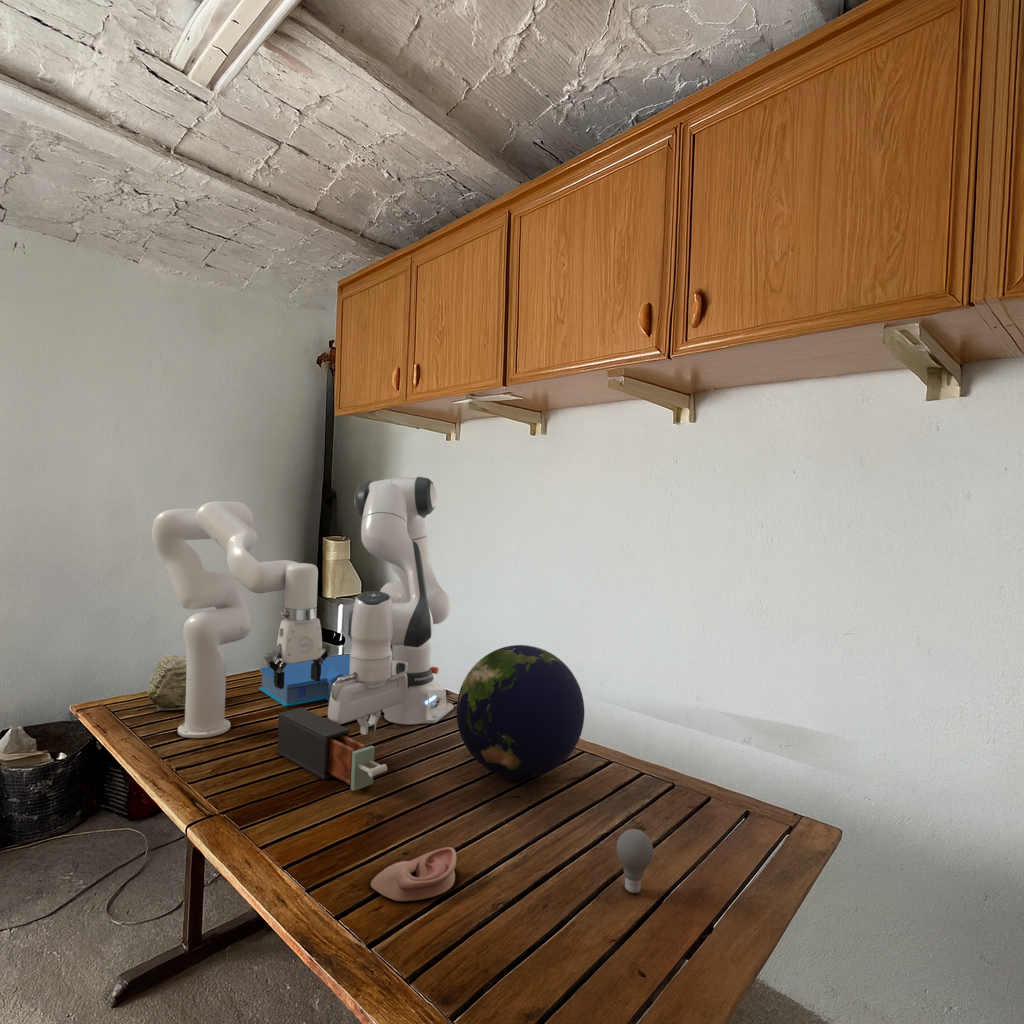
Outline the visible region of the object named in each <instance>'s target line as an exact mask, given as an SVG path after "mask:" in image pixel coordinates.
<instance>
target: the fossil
mask: <svg viewBox="0 0 1024 1024" xmlns="http://www.w3.org/2000/svg"><path fill="white" fill-rule="evenodd" d="M186 666H187V657H186V656H183V657H182V656H178V655H175V654H174V655H173V654H165V655H164V656H163V657H162V658H161V659H160V660H159V662H158V663H157V666H156V667H155V669H154V670H153V672H152V675H151V677H150V680H149V684H148V688H147V697H148V699H149V700H150V701H152V703H153V704H154V706H155V711H158V712H159V711H162V712H163V711H177V710H185V701H186Z"/></svg>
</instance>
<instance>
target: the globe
mask: <svg viewBox="0 0 1024 1024" xmlns="http://www.w3.org/2000/svg"><path fill="white" fill-rule="evenodd" d="M456 721H457V722H456V723H457V727H458V731H459V734H460V737H461V740H462V742H463V744H464V747H465V748H466V749H467V751H468V752H469V754H470V755H471V756H472V757H473V759H474V760H475V761H476V762H477V763H478V764H479V765H481V766H482V767H483V768H485V769H486V770H488V771H489V772H491V773H493V774H495V775H497V776H500V777H502V778H507V779H511V780H527V779H528V780H529V779H535V778H538V777H542V776H544V775H546V774H549V773H551V772H552V771H554V770H556V769H557V768H558V767H559V766H561V765H562V764H563V763H564V762H565V761H566V760H567V759H568V758H569V757H570V756H571V754H572V753H573V752H574V750H575V748H576V747H577V745H578V742H579V740H580V739H581V736H582V733H583V728H584V723H585V702H584V696H583V692H582V689H581V687H580V684H579V681H578V680H577V678H576V676H575V675H574V673H573V672H572V670H571V669H570V668H569V667H568V665H567V664H566V663H565V662H564V661H562V659H560V658H559V657H558V656H556V655H555V654H553V653H552V652H550V651H547V650H546V649H543V648H540V647H537V646H532V645H529V644H514V645H513V644H512V645H507V646H503V647H500V648H497V649H495V650H493V651H491V652H489V653H488V654H486V655H484V656H483V657H481V658H480V660H478V661H477V662H476V663H475V664H474V665H473V666H472V668H471V669H470V670H469V671H468V672H467V674H466V676H465V677H464V679H463V682H462V684H461V686H460V689H459V692H458V696H457V703H456Z"/></svg>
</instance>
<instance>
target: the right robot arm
mask: <svg viewBox="0 0 1024 1024" xmlns="http://www.w3.org/2000/svg"><path fill="white" fill-rule="evenodd" d="M437 493H438V492H437V490H436V487H435V485H434V482H433V481H432V480H431V479H430V478H428V477H425V476H424V477H423V476H417V477H407V476H405V477H401V476H400V477H393V478H386V479H380V480H379V479H378V480H374V481H372V480H369V481H365V482H362V483H360V484H359V485H358V487H357V488H356V489H355V493H354V507H355V510H356V512H357V514H358V515H359V516H360V517H361V525H360V526H361V528H360V532H361V533H360V535H361V537H360V538H361V542H362V545H363V547H364V548H365V549H366V551H367V552H368V553H370V554H371V555H372V556H374V557H375V558H377V559H379V560H380V561H383V562H386V563H389V565H390V567H391V569H392V570H393V571H394V572H395V574H396V575H397V576H398V578H399V580H396V581H390V582H387V583H386V584H384V585H383V586H382V587H381V588H380V590H379V591H377V590H374V591H373V590H370V591H365V592H364V591H363V592H361V593H359V594H358V595H356V597H355V599H354V605H353V609H352V610H351V611H350V612H349V614H348V627H347V628H348V630H347V631H348V632H347V635H348V637H349V638H350V640H351V643H352V644H351V650H350V652H349V654H350V669H349V675H347V676H342V677H339V678H338V679H337V681H335V683H334V684H333V685H332V691H331V695H330V700H329V701H328V706H327V707H328V708H327V719H328V720H330V721H331V722H334V723H336V724H338V725H343V724H346V723H349V722H351V721H354V720H357V723H358V725H359V726H360V727H359V730H360V731H359V733H360V734H361V735H363V736H366V735H369V734H372V733H374V732H376V731H377V723H378V721H379V719H380V717H381V713H383V714H384V715H383V718H384V719H385V720H386V721H388V722H390V723H393V724H398V725H421V724H436V723H438V722H439V721H440V720H442V719H443V718H444V717H445V716H446V715H448V714H449V713H450V712H451V711H453V710H454V709H455V706H454V704H453V703H451V702H449V701H447V694H448V693H449V689H445V688H444V687H443V686H442V685H441V684H439V682H438V681H436V680H435V679H434V674H435V675H437V674H438V673H439V670H440V669H439V666H434V665H433V666H431V655H432V641H431V639H432V635H433V631H434V625H439V624H442V623H443V622H445V621H446V620H447V618H448V616H449V615H450V613H451V607H452V602H451V599H450V596H449V594H448V593H447V592H446V591H445V589H443V588H442V587H441V585H440V583H439V581H438V579H437V577H436V575H435V572H434V571H433V568H432V565H431V561H430V555H429V547H428V538H427V530H426V529H427V528H426V523H425V518H426V517H427V516H428V515H430V514H432V512H433V511H434V510H435V508H436V505H437V500H438V494H437ZM337 682H338V683H337ZM369 715H370V716H369ZM367 720H368V721H367Z"/></svg>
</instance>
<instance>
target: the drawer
mask: <svg viewBox="0 0 1024 1024" xmlns="http://www.w3.org/2000/svg"><path fill="white" fill-rule="evenodd" d="M375 748H376V747H375V746H373V745H369V746H367V745H366V744H363V743H361V742H359V741H357V740H355V739H353V738H352V737H350V736H349V737H347V736H345V735H339V736H336V737H333V738H329V739H328V760H327V772H328V773H329V774H331V775H333V776H334V778H337V779H338V780H340V781H342V782H344V783H345V784H346V785H349V786H350V790H351V791H353V792H355V791H358V790H360V789H362V788H366V787H368V786H371V785H373V784H374V777H376V776H379V775H381V774H384V773H387V772H388V765H387V764H386V763H383V764H381V763H378V762H376V761H375V752H376V751H375V750H376V749H375Z"/></svg>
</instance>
